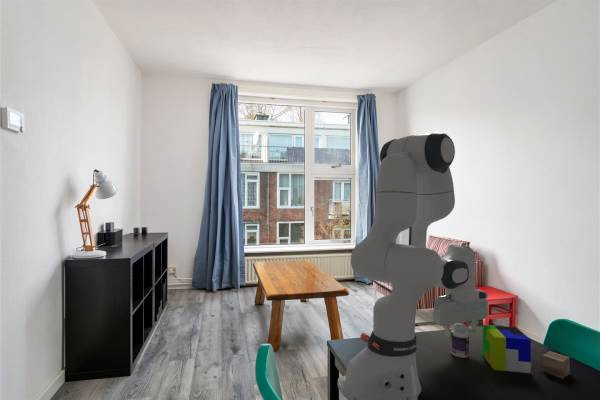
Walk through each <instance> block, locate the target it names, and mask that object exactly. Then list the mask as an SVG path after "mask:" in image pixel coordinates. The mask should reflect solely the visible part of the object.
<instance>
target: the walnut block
mask: <svg viewBox="0 0 600 400" xmlns="http://www.w3.org/2000/svg"><path fill="white" fill-rule="evenodd" d="M570 363H571V362H570V357H569V356H566V355H564V354H560V353H557V352H553V351H551V350H550V351H547V352H546V353H544V354H542V372H543V373H546V374H548V375H550V376H554V377H557V378H559V379H562V380H563V379H564V378H566V377H568V376H569V375H570V371H571V369H570V367H571V366H570Z"/></svg>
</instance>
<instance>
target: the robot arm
mask: <svg viewBox="0 0 600 400" xmlns="http://www.w3.org/2000/svg"><path fill="white" fill-rule="evenodd" d="M455 148H456V147H455V144H454V141H453V139H452V138H451V137H450V136H449V135H448V134H447V133H444V132H431V133H425V134H423V133H422V134H416V135H415V134H412V135H407V136H403V137H399V138H396V139H395V138H394V139H391V140H389V141H387V142H385V143H384V144H383V145H382V147H381V149H380V152H379V161H380V164H379V169H378V173H377V177H376V178H377V180H376V189H375V190H376V191H375V205H374V217H373V222H372V225H371V227H370V230H369V231H368V234H367V235H366V236H365V237H364V239H362V240H361V241H360V242H359V243H358V244H356V245H355V247H354V248H353V249H352V252H351V254H350V267H351V268H352V271H353V272H354V273H355V275H357V276H360V277H362V278H364V279H367V280H370V281H375V282H379V283H386V284H391V286H392V287H391V293H389V294H386V295H384V296H382V297H380V298H378V299H377V300H376V302H374V306H373V308H372V310H373V311H372V312H373V313H372V315H373V316H372V319H373V320H372V321H373V322H372V323H373V325H372V326H373V327H372V331H371V334H370V335H368V334H367V333H365V332H362V333H361V334H360V340H362V341H363V342H364V343H367V345H366V346H365V347H364V348H363V349H361V351H360V352H358V353H357V354H356V355H355V356H354V357H353V358H351V359H350V360H349V361H348V363H347V366H346V371H345V375H343V376H342V375H341V376H340V377H338V379H337V388H338V390H339V392H340V394H342V396H343V397H344V398H345V399H347V400H419V399H418V398H419V395H420V394H421V392H422V386H421V384H420V379H419V376H418V367H417V361H416V360H417V358H416V351H417V335H416V314H417V308H418V305H419V302H420V300H421V298H422V297H423V295H425V294H426V293H427V292H428V291H429V290H431V289H433V288H435V287H437V288H442V289H445V292H446V293H445V295H439V296H438V297H437V298H436V299H435V300H434V306H433V312H432V320H433V322H434V323H435V324H436V325H438V326H440V327H443V329H444V331H445V336H446V337H447V338H449V339H450V338H451V337H453V332H452V330H451V329H450V328H451V327H452V325H454V324H457V323H461V324H464V323H468V322H471V323H470V325H469V326H467V329H468V330H467V332H468V333H470V334H475V333H476V328H477V327H478V325H479V323H480V322H479V321H481V320H485V319H487V318H488V316H489V302H488V297H489V294H488V292H487V291H484V290H482V289H478V288H476V282H475V276H476V258H475V253H474V250H473V248H472V247H470V246H465V245H460V244H459V245H458V244H449V245H448V247H447V251H446V252H445V253H444V254H442V255H441V256H440V254H439V253H438V251H435V250H433V249H430V248H427V232H428V228H429V227H430V226H431V224H433V223H436V222H438V221H441V220H443V219H445V218H447V217H448V216H449V215H450V214H451V213H452V212H453V210H454V209H455V204H456V197H455V189H454V188H455V187H454V181H453V174H452V171H451V169H450V167H451V165H452V163H453V162H454V160H455V155H456V149H455ZM405 230H408V244H405V243H404V244H401V243H397V239H398V237H399V234H401V233H402V232H403V231H405Z"/></svg>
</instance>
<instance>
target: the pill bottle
mask: <svg viewBox="0 0 600 400" xmlns="http://www.w3.org/2000/svg"><path fill="white" fill-rule="evenodd" d="M467 329H468V326H467V325H466V324H465V323H457V324H453V329H452V330H451V331H452V332H453V337H450V338H451V339H450V341H451V342H450V343H451V344H450V345H451V346H450V347H451V348H450V351H451V354H452V355H453V356H455V357H458V358H462V359H463V358H469V356H470V334H469V332H468V330H467Z"/></svg>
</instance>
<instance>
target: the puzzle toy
mask: <svg viewBox="0 0 600 400" xmlns="http://www.w3.org/2000/svg"><path fill="white" fill-rule="evenodd" d="M531 342H532V339H531V338H530V337H528V336H527V335H526V334H525V333H524V332H522V330H520V329H519V328H518V327H517V326H516V327H515V326H503V325H488V324H487V325H486V324H483V325H482V355H483V357H484V359H485V360H486V362H487V363H488V364H489V365H490V367H491V368H492V370H495V371H504V372H513V373H514V372H515V373H525V374H531V373H532V371H531V369H532V367H531V363H532V361H531V360H532V355H531V354H532V353H531V352H532V343H531Z"/></svg>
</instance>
